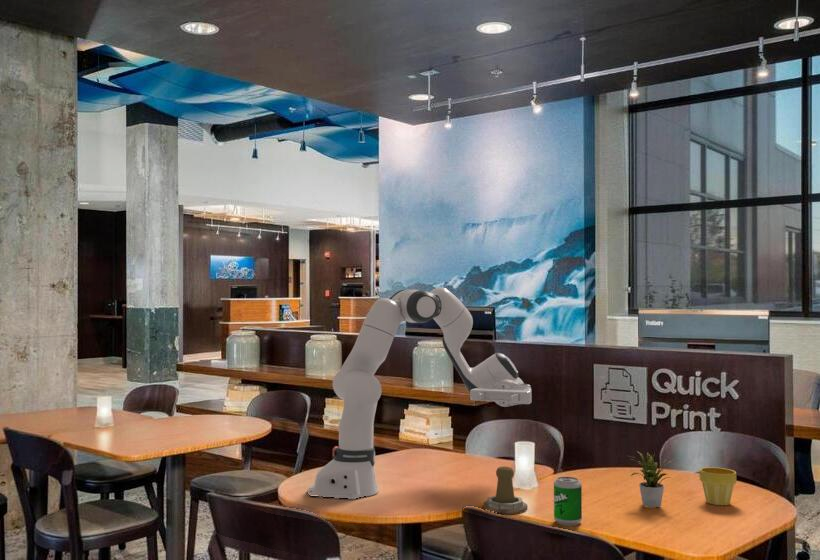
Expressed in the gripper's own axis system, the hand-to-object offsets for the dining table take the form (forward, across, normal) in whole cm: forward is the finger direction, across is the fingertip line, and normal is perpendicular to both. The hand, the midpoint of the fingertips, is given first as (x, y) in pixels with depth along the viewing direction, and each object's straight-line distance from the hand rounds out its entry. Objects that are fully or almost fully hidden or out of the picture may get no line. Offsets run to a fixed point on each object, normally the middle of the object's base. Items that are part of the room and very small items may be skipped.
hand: (495, 398), depth 244 cm
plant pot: (-11, +66, +30) cm, 73 cm away
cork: (+17, +7, +29) cm, 34 cm away
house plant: (-1, +46, +30) cm, 55 cm away
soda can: (+25, +26, +30) cm, 47 cm away
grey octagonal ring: (+17, +7, +30) cm, 35 cm away
